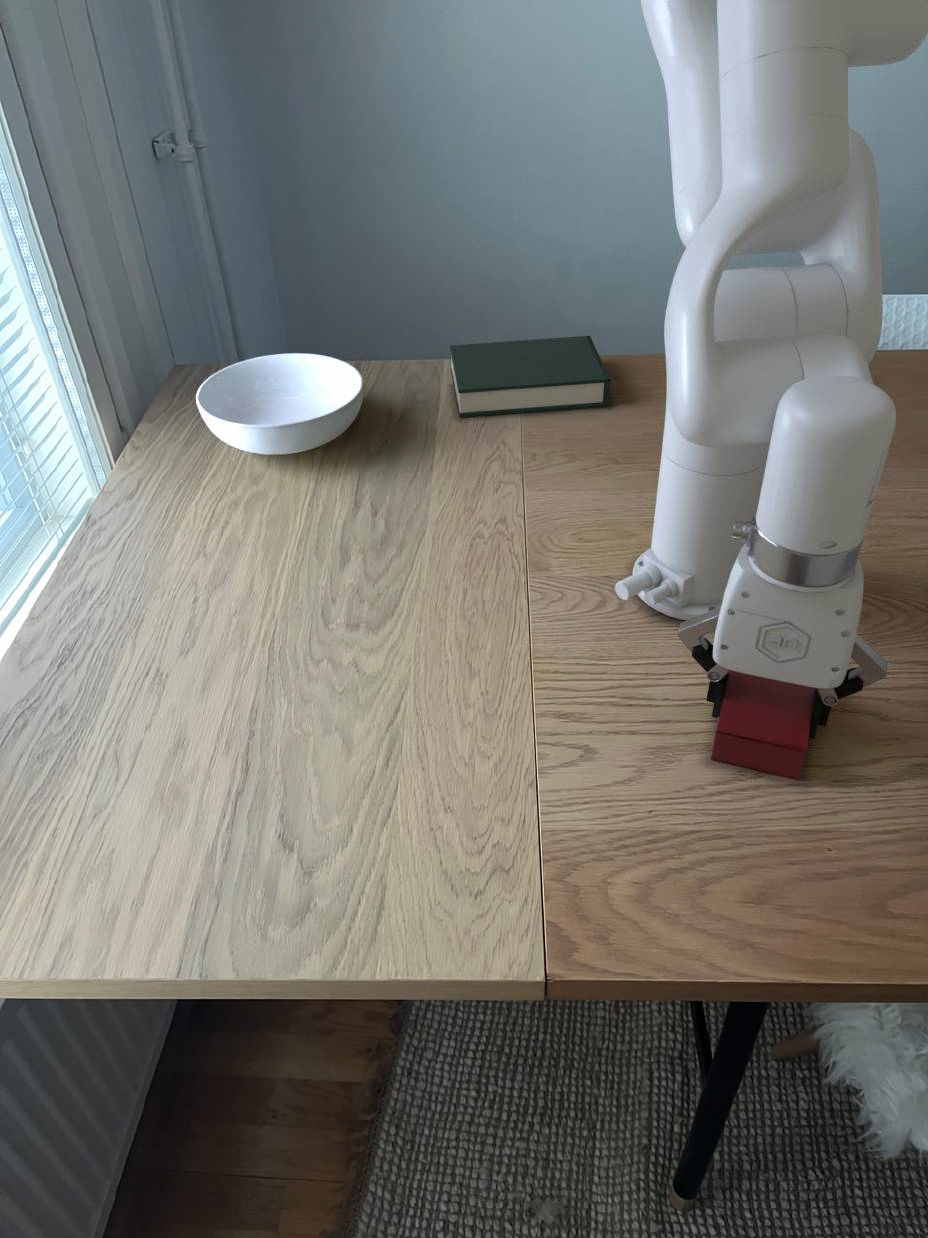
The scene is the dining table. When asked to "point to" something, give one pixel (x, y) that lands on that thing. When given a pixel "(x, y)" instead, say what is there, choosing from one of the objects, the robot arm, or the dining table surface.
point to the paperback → (764, 725)
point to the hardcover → (528, 376)
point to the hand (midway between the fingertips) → (763, 715)
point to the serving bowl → (281, 402)
